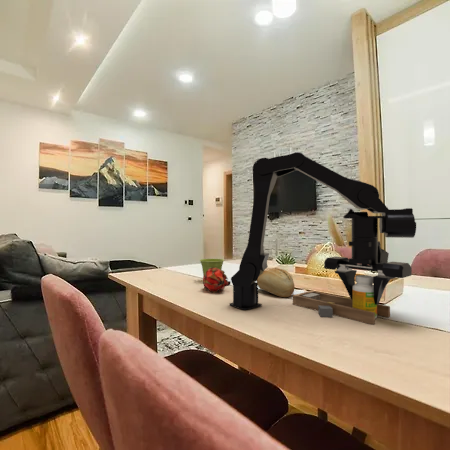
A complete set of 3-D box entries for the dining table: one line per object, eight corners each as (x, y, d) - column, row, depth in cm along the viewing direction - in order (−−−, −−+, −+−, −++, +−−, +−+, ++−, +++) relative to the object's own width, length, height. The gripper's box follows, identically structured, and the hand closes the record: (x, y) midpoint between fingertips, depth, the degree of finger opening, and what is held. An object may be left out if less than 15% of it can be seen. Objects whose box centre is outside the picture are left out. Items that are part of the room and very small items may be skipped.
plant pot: (202, 279, 120) (202, 258, 120) (225, 280, 119) (225, 258, 119) (197, 284, 111) (197, 261, 111) (222, 284, 110) (222, 261, 110)
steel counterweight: (309, 305, 81) (309, 297, 81) (301, 304, 83) (301, 295, 83) (319, 302, 84) (319, 294, 84) (312, 301, 86) (312, 292, 86)
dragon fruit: (211, 291, 106) (223, 304, 95) (193, 279, 103) (203, 291, 92) (225, 271, 107) (238, 282, 96) (207, 259, 104) (219, 268, 93)
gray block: (332, 317, 71) (332, 308, 71) (320, 316, 71) (320, 308, 71) (329, 313, 74) (329, 305, 74) (318, 313, 74) (318, 305, 74)
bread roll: (272, 287, 105) (272, 265, 105) (303, 296, 92) (303, 270, 92) (250, 290, 100) (250, 267, 100) (279, 300, 87) (279, 273, 87)
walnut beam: (372, 324, 66) (372, 312, 66) (292, 304, 83) (292, 294, 83) (390, 316, 71) (390, 305, 71) (311, 298, 88) (311, 289, 88)
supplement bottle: (367, 321, 68) (366, 279, 68) (347, 315, 73) (347, 275, 73) (382, 317, 70) (382, 277, 70) (362, 312, 75) (362, 273, 75)
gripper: (420, 237, 69) (420, 304, 69) (345, 235, 84) (345, 290, 84) (401, 239, 62) (401, 313, 62) (322, 236, 77) (323, 296, 77)
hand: (364, 301), depth 72 cm, fingers closed on supplement bottle, 5 cm apart
